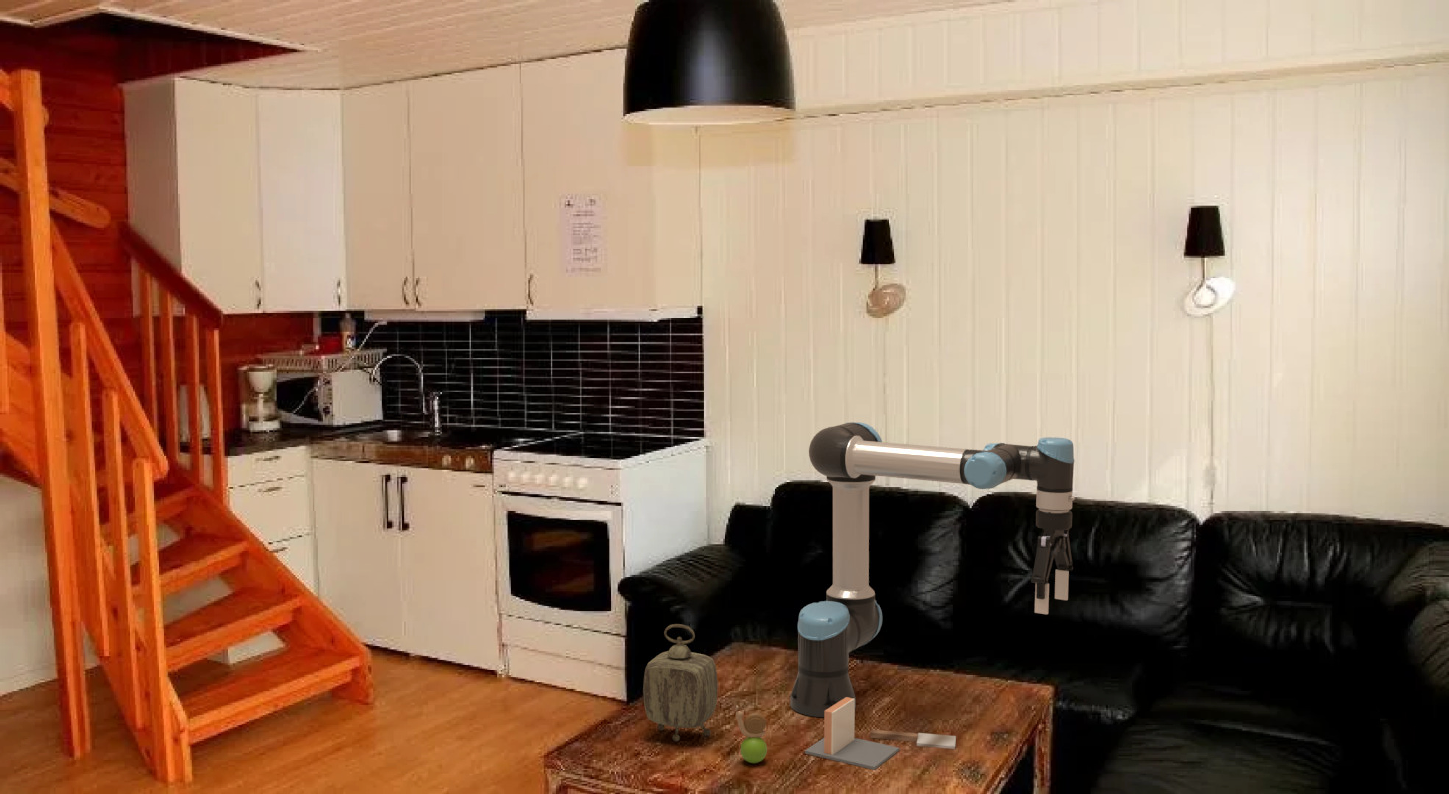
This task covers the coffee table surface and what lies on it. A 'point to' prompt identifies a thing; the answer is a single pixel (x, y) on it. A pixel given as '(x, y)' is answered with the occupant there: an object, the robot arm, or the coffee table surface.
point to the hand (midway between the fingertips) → (1051, 606)
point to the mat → (857, 753)
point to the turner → (917, 738)
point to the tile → (839, 725)
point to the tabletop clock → (680, 687)
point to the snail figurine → (752, 736)
